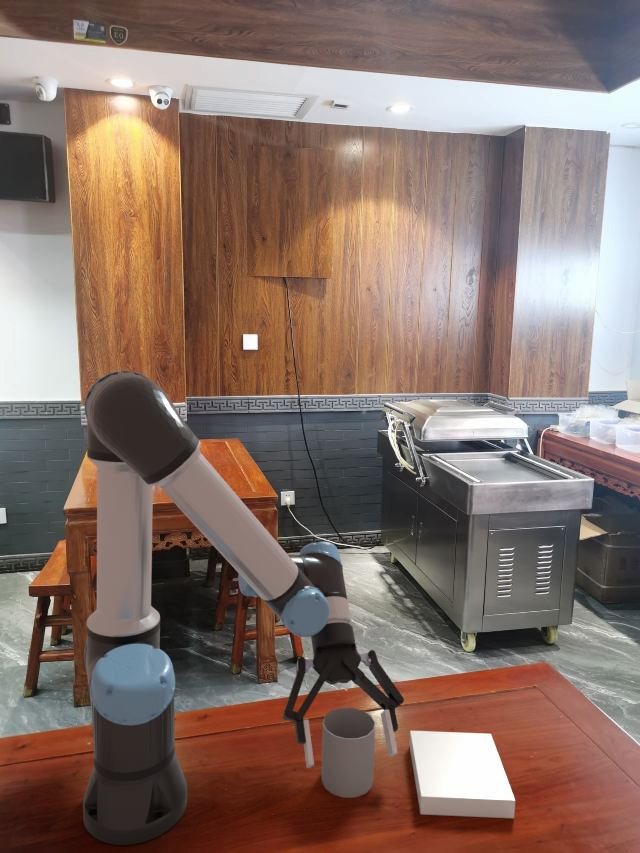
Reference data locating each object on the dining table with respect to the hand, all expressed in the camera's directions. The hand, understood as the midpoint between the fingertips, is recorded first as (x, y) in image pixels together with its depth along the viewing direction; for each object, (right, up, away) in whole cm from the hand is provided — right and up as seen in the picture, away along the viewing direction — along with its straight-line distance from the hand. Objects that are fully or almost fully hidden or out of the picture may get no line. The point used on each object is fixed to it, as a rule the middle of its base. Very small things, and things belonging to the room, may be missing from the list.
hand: (352, 760), depth 102 cm
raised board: (+17, -5, +3) cm, 18 cm away
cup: (-1, -5, +3) cm, 5 cm away
